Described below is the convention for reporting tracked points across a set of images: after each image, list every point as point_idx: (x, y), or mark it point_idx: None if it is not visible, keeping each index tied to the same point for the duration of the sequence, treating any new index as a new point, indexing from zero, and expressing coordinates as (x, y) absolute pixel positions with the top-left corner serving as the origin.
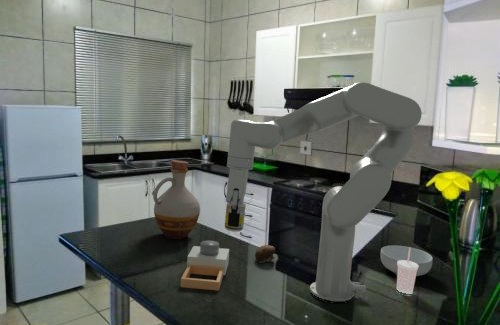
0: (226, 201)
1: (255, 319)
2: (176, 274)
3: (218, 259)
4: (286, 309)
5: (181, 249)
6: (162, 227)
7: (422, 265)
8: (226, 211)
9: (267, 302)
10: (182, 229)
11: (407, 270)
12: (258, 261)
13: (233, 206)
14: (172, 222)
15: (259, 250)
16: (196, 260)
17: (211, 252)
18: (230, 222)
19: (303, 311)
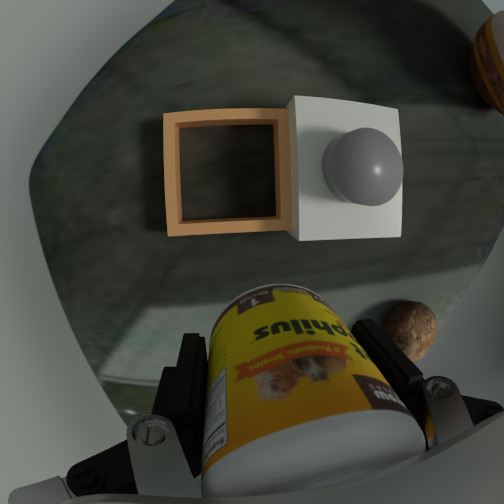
0: (76, 497)
1: (75, 331)
2: (255, 86)
3: (298, 211)
4: (138, 386)
5: (428, 87)
6: (475, 38)
7: None
8: (264, 367)
9: (151, 355)
10: (487, 85)
11: None
12: (387, 313)
13: (43, 492)
14: (488, 52)
15: (410, 324)
16: (293, 130)
17: (329, 179)
18: (164, 369)
19: (144, 410)
